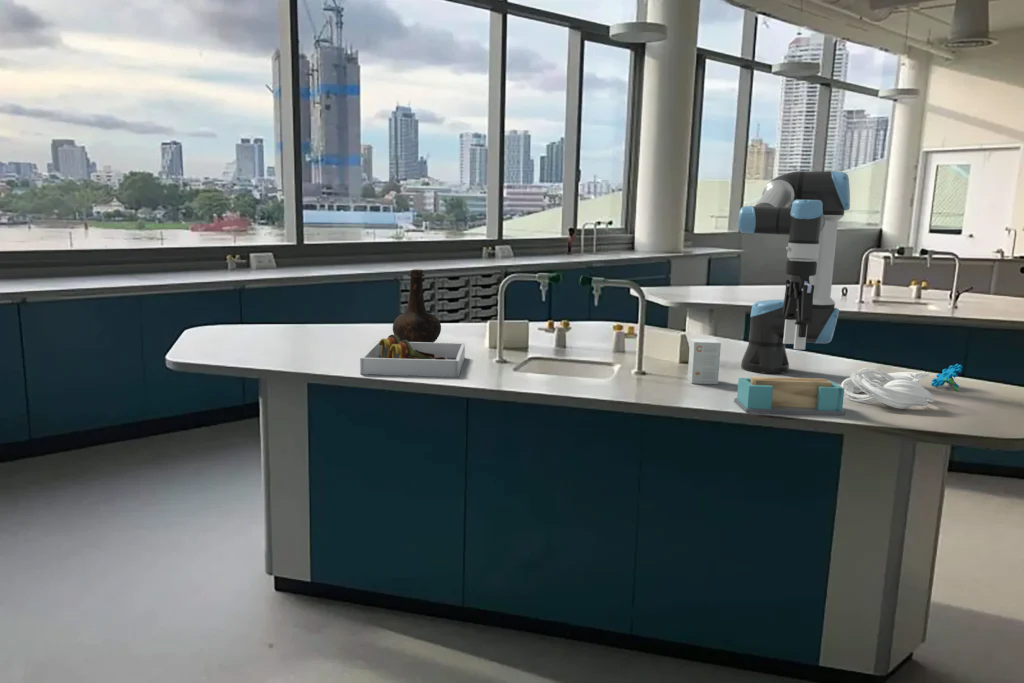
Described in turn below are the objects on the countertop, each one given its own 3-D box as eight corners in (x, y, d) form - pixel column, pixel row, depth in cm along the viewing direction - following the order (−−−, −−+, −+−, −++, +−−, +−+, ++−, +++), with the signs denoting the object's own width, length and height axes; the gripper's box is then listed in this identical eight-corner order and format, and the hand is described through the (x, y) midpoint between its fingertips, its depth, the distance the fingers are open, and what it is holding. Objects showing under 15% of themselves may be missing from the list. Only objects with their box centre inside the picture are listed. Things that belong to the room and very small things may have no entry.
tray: (377, 355, 259) (377, 341, 258) (464, 357, 259) (464, 343, 258) (360, 374, 231) (360, 358, 230) (458, 376, 231) (458, 360, 230)
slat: (748, 401, 206) (750, 376, 204) (822, 403, 206) (824, 378, 204) (753, 406, 201) (756, 380, 200) (829, 408, 201) (831, 382, 200)
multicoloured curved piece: (471, 367, 246) (472, 337, 244) (417, 378, 228) (417, 345, 226) (421, 355, 261) (421, 327, 260) (366, 365, 244) (366, 335, 242)
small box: (712, 379, 235) (716, 338, 233) (718, 384, 229) (721, 342, 227) (686, 379, 235) (689, 338, 233) (691, 384, 229) (694, 341, 227)
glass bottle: (419, 351, 267) (420, 272, 262) (382, 345, 277) (381, 269, 272) (450, 344, 282) (451, 269, 277) (414, 339, 291) (414, 266, 286)
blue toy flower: (928, 377, 239) (957, 358, 235) (941, 390, 239) (970, 372, 234) (931, 389, 230) (961, 369, 225) (945, 403, 229) (975, 384, 225)
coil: (868, 389, 231) (870, 359, 229) (951, 405, 211) (954, 372, 210) (820, 401, 217) (822, 369, 215) (904, 419, 197) (907, 384, 196)
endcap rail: (734, 401, 209) (736, 377, 208) (827, 404, 209) (830, 379, 208) (746, 412, 198) (748, 386, 197) (844, 415, 198) (847, 389, 197)
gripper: (774, 256, 206) (767, 339, 211) (802, 262, 187) (793, 353, 191) (801, 257, 206) (794, 339, 211) (832, 263, 187) (823, 354, 191)
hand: (793, 346), depth 201 cm, fingers open, 7 cm apart
